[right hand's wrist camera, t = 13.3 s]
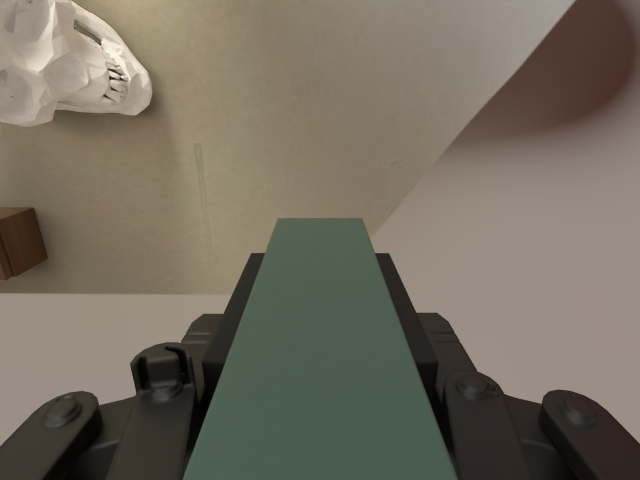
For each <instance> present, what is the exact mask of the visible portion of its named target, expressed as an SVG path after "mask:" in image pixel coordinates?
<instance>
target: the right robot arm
mask: <svg viewBox="0 0 640 480" xmlns="http://www.w3.org/2000/svg"><path fill="white" fill-rule="evenodd" d="M264 255H265V253H251V255H250V257H249V259H248V262H247V264H246V266H245V268H244V270H243V272H242V275H241V277H240V279H239V281H238V283H237V286H236V288H235V290H234V292H233V294H232V296H231V299H230V301H229V303H228V305H227V307H226V310H225V312H224V314H203V315H202V316H200V317H199V318H198V319H196V320H195V321H194V322H192V324H191V325H190V327H189V329H188V331H187V332H186V335H185V336H184V338H183V339H182V341H181V343H178V342H167V343H162V344H157V345H154V346H152V347H149V348H147V349H145V350H143V351H142V352H141V353H139V354H138V355H137V356H135V358H134V359H133V360H132V362H131V363H130V366H131V370H132V375H133V379H134V384H135V388H136V396H134V397H131V398H127V399H124V400H120V401H116V402H111V403H107V404H103V405H99V403H98V399H97V397H96V396H94V395H93V394H92V393H89V392H84V391H79V392H70V393H67V394H64V395H61V396H58V397H56V398H54V399H52V400H50V401H48V402H47V403H45V404H43V405H42V406H41V407H40V408H38V409H37V410H36V411H35V412H33V413H32V414H31V416H30V417H29V418H28V419H27V420H26V421H25V422H24V423H23V424H22V425H21V426H20V427H19V428H18V429H17V430H16V431H15V432H14V433H13V434H12V435H11V436H10V437H9V438H8V439H7V440H6V441H5V442H4V443H3V444H2V445H1V446H0V480H183V477H184V474H185V472H186V469H187V466H188V463H189V461H190V458H191V455H192V453H193V450H194V447H195V444H196V442H197V439H198V436H199V433H200V431H201V428H202V425H203V422H204V420H205V417H206V414H207V411H208V409H209V406H210V403H211V400H212V398H213V395H214V392H215V390H216V387H217V384H218V381H219V379H220V376H221V373H222V370H223V368H224V365H225V362H226V359H227V357H228V354H229V351H230V348H231V346H232V343H233V340H234V338H235V335H236V332H237V329H238V327H239V324H240V321H241V318H242V316H243V313H244V310H245V307H246V305H247V302H248V299H249V296H250V294H251V291H252V288H253V285H254V283H255V280H256V277H257V275H258V272H259V269H260V266H261V264H262V261H263V258H264ZM375 255H376V257H377V260H378V263H379V266H380V268H381V271H382V274H383V277H384V279H385V282H386V285H387V287H388V290H389V293H390V296H391V298H392V301H393V304H394V307H395V309H396V312H397V315H398V317H399V320H400V323H401V326H402V328H403V331H404V334H405V336H406V339H407V342H408V345H409V347H410V350H411V353H412V356H413V358H414V361H415V364H416V366H417V369H418V372H419V375H420V377H421V380H422V383H423V385H424V388H425V391H426V394H427V396H428V399H429V402H430V405H431V407H432V410H433V413H434V415H435V418H436V421H437V424H438V426H439V429H440V432H441V434H442V437H443V440H444V443H445V445H446V448H447V451H448V454H449V456H450V459H451V462H452V464H453V467H454V470H455V473H456V475H457V478H458V480H640V444H639V443H638V442H637V441H636V440H635V439H634V438H633V437H632V435H631V434H630V433H629V432H628V431H627V430H626V429H625V428H624V427H623V426H622V425H621V424H620V423H619V422H618V421H617V420H616V419H615V418H614V417H613V416H612V415H611V414H610V413H609V412H608V411H607V410H606V409H604V408H603V407H602V406H601V405H599V404H598V403H597V402H595V401H593V400H591V399H590V398H588V397H586V396H584V395H581V394H578V393H575V392H572V391H566V390H554V391H549V392H548V393H547V394H546V395H545V396H544V397H543V401H542V404H539V403H535V402H531V401H527V400H522V399H518V398H514V397H511V396H508V395H505V394H504V393H503V391H502V389H501V388H500V386H499V385H498V384H497V383H496V382H495V381H494V380H492V379H491V378H490V377H488V376H486V375H484V374H482V373H480V372H478V371H477V370H476V368H475V366H474V365H473V363H472V361H471V359H470V358H469V356H468V354H467V353H466V351H465V349H464V348H463V346H462V344H461V343H460V342H459V339H458V337H457V336H456V334H454V330H453V329H452V327H451V325H450V324H449V322H448V321H447V320H446V319H444V318H443V317H442V316H440V315H439V314H438V313H416V311H415V309H414V307H413V305H412V303H411V301H410V298H409V296H408V294H407V292H406V289H405V287H404V285H403V283H402V281H401V279H400V276H399V274H398V272H397V270H396V268H395V265H394V263H393V261H392V259H391V257H390V255H389V253H375Z"/></svg>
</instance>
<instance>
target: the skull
mask: <svg viewBox="0 0 640 480" xmlns="http://www.w3.org/2000/svg"><path fill="white" fill-rule="evenodd" d="M74 20H75V21H76V22H77V23H78V24H79V25H80V26H82V27H83V28H84V29H86V30H87V31H88V32H90V33H91V34H92V35H94V36H95V37H96V38H98V39H99V40H100V41H101V45H102V46H100V45H98V44H97V43H96V42H95V41H94V40H93V39H91V38H89V37H88V36H85V35H83V34H82V33H80V32H79V31H78V30H75V29H74ZM113 65H114V66H116V67H117V68H115V67H114V66H113ZM108 68H110V69H114V70H115V71H116V72H117V73H121V75H122V76H120V75H118V74H116V73H114V72H112V71H109V70H108ZM109 76H111V77H114V78H116V79H120V77H121V78H122V79H123V80H124V81H119V80H109ZM122 85H123V86H122ZM110 86H111V87H112V88H114V89H116V90H117V91H119V92H116V91H113V90H110V89H111V88H110ZM124 86H125V87H124ZM121 91H124V92H121ZM104 94H106V95H107V96H108V97H109V98H111V99H108V98H105V97H103V95H104ZM152 94H153V92H152V82H151V79H150V77H149V74H148V72H147V71H146V70H145V69H144V67H143V66H142V65H141V64H140V63H139V62H138V60H137V59H136V58H135V57H134V55H133V54H132V53H131V51H130V50H129V49H128V47H127V46H126V45H125V43H124V42H123V40H122V39H121V38H120V37H119V36H118V34H117V33H116V32H115V31H114V29H113V28H112V27H110V26H109V25H108V24H107V23H105V22H104V21H103V20H101V19H100V18H98V17H97V16H95V15H94V14H92V13H90V12H88V11H86V10H85V9H83V8H81V7H80V6H78V5H77V4H76V3H74V2H73V1H72V0H0V122H2V123H8V124H14V125H19V126H23V127H31V126H35V125H40V124H44V123H47V122H50V121H52V120H53V115H54V111H55V110H70V111H76V112H86V113H120V114H125V115H137V114H138V113H140V112H141V111H142V110H144V109H145V108H146V107H147V106H148V105H149V104H150V101H151V97H152Z"/></svg>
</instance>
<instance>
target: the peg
mask: <svg viewBox="0 0 640 480" xmlns="http://www.w3.org/2000/svg"><path fill="white" fill-rule="evenodd" d="M183 480H458V478H457V475H456V473H455V470H454V467H453V464H452V462H451V459H450V456H449V454H448V451H447V448H446V445H445V443H444V440H443V437H442V434H441V432H440V429H439V426H438V424H437V421H436V418H435V415H434V413H433V410H432V407H431V405H430V402H429V399H428V396H427V394H426V391H425V388H424V385H423V383H422V380H421V377H420V375H419V372H418V369H417V366H416V364H415V361H414V358H413V356H412V353H411V350H410V347H409V345H408V342H407V339H406V336H405V334H404V331H403V328H402V326H401V323H400V320H399V317H398V315H397V312H396V309H395V307H394V304H393V301H392V298H391V296H390V293H389V290H388V287H387V285H386V282H385V279H384V277H383V274H382V271H381V268H380V266H379V263H378V260H377V257H376V255H375V252H374V249H373V247H372V244H371V241H370V238H369V236H368V233H367V230H366V228H365V225H364V222H363V219H361V218H279V219H278V220H277V222H276V225H275V228H274V231H273V233H272V236H271V239H270V242H269V244H268V247H267V250H266V253H265V255H264V258H263V261H262V264H261V266H260V269H259V272H258V275H257V277H256V280H255V283H254V285H253V288H252V291H251V294H250V296H249V299H248V302H247V305H246V307H245V310H244V313H243V316H242V318H241V321H240V324H239V327H238V329H237V332H236V335H235V338H234V340H233V343H232V346H231V348H230V351H229V354H228V357H227V359H226V362H225V365H224V368H223V370H222V373H221V376H220V379H219V381H218V384H217V387H216V390H215V392H214V395H213V398H212V400H211V403H210V406H209V409H208V411H207V414H206V417H205V420H204V422H203V425H202V428H201V431H200V433H199V436H198V439H197V442H196V444H195V447H194V450H193V453H192V455H191V458H190V461H189V463H188V466H187V469H186V472H185V474H184V477H183Z"/></svg>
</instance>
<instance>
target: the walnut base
mask: <svg viewBox="0 0 640 480" xmlns="http://www.w3.org/2000/svg"><path fill="white" fill-rule="evenodd" d="M46 259H47V255H46V251H45V248H44V244H43V241H42V237H41V233H40V230H39V226H38V223H37V219H36V216H35V212H34V209H33V208H0V280H7V279H9V278H11V277H12V276H18V275H20V274H21V273H23V272H25V271H27V270H28V269H30V268H32V267H34V266H35V265H37V264H39V263H41V262H42V261H44V260H46Z"/></svg>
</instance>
